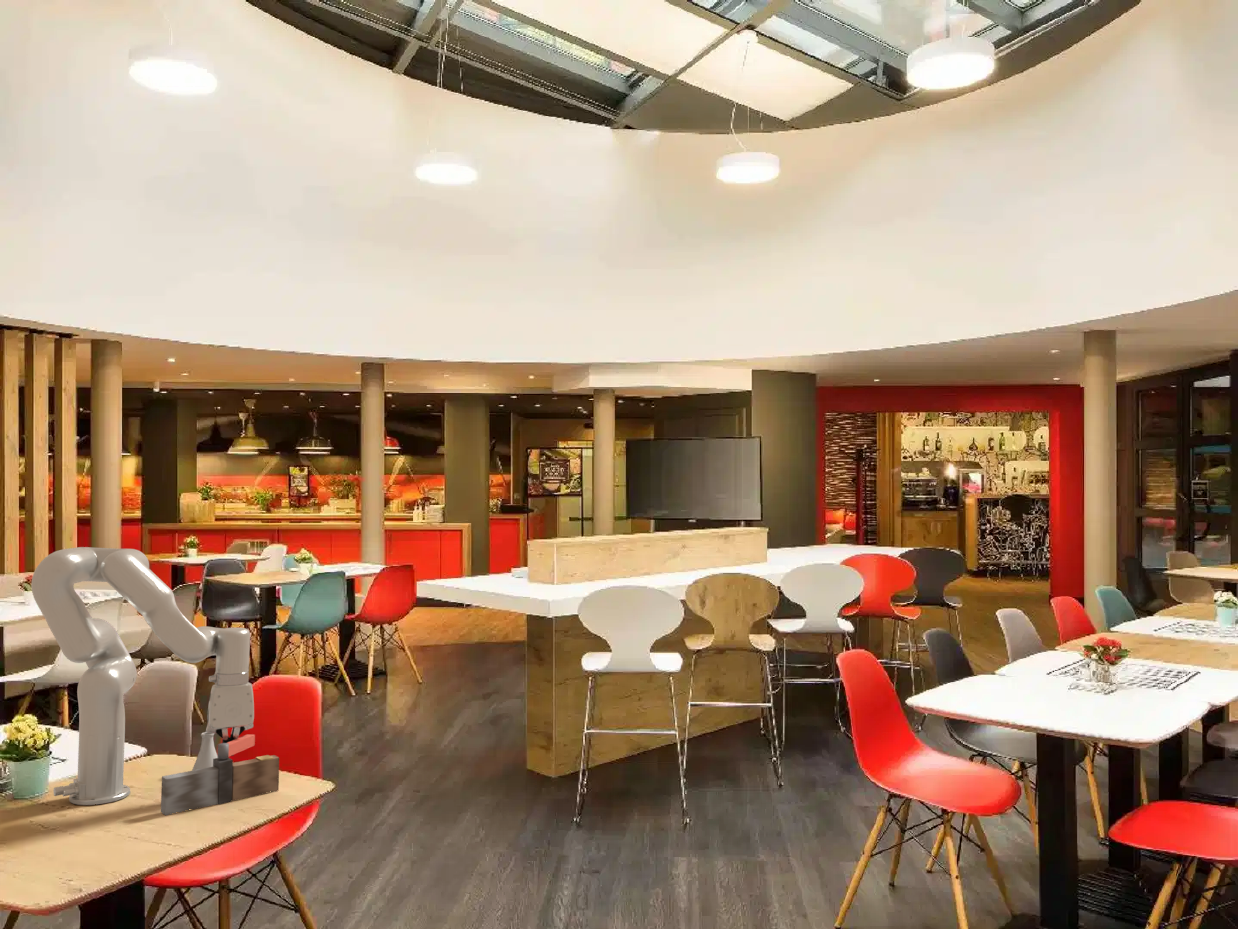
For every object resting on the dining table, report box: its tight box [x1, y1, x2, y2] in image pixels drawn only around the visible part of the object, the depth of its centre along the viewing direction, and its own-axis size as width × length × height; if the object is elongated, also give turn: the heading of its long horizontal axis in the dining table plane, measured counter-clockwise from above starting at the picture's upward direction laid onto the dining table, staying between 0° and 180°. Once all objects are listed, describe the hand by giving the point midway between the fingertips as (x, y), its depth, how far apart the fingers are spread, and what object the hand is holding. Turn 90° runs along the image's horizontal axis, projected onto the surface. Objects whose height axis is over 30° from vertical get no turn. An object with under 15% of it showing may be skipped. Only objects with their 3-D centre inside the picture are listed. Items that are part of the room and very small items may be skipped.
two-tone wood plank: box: [160, 754, 280, 817], centre depth 215 cm, size 26×4×10 cm, turn 134°
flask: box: [191, 731, 218, 771], centre depth 238 cm, size 7×7×10 cm
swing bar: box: [217, 734, 256, 760], centre depth 220 cm, size 12×2×3 cm, turn 168°
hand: (229, 754), depth 223 cm, fingers closed
